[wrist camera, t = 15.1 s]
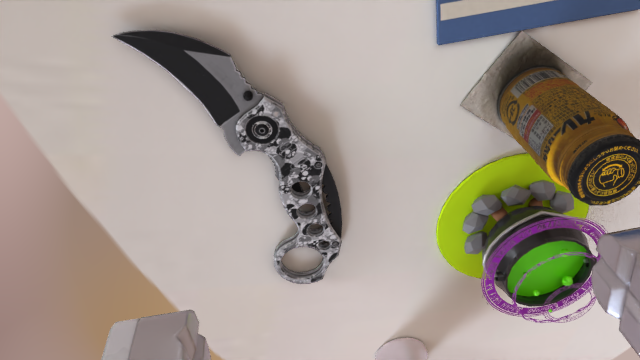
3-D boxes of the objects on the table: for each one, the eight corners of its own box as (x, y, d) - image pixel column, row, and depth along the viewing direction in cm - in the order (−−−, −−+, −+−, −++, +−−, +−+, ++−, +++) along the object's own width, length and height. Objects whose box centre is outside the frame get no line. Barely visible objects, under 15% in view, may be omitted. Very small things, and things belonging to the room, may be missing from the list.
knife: (108, 39, 36) (237, -20, 35) (114, 31, 38) (239, -25, 36) (279, 296, 52) (374, 264, 50) (279, 284, 53) (372, 253, 51)
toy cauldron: (601, 142, 47) (686, 215, 38) (574, 265, 55) (638, 350, 46) (437, 165, 47) (483, 245, 37) (434, 287, 55) (471, 377, 46)
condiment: (529, 148, 47) (605, 231, 37) (459, 104, 44) (521, 182, 34) (590, 81, 44) (691, 152, 34) (520, 29, 41) (608, 90, 31)
